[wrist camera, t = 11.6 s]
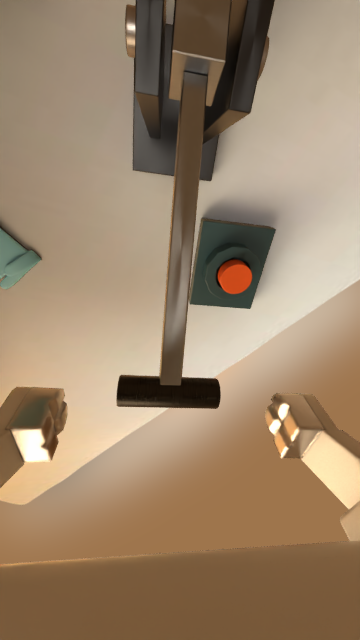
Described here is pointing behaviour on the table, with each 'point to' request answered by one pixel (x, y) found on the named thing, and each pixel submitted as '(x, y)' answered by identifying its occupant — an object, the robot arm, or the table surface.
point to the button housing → (221, 246)
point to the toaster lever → (185, 201)
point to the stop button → (234, 276)
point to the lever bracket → (154, 71)
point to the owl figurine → (14, 260)
